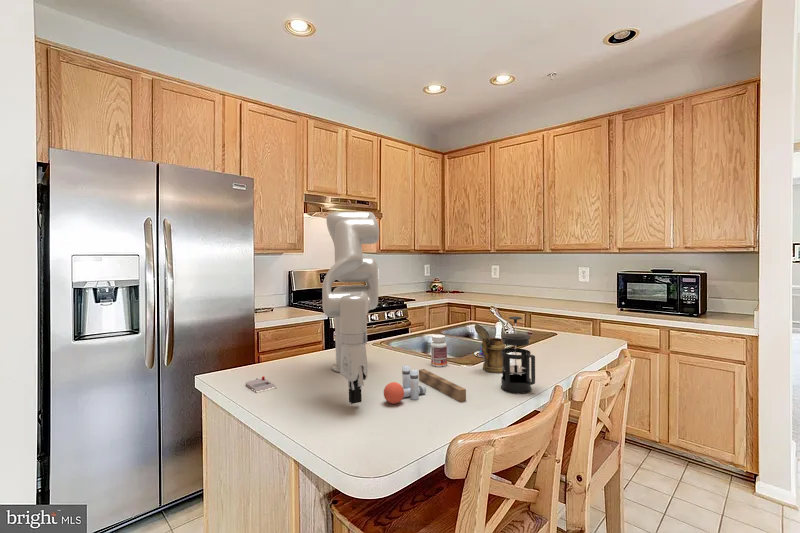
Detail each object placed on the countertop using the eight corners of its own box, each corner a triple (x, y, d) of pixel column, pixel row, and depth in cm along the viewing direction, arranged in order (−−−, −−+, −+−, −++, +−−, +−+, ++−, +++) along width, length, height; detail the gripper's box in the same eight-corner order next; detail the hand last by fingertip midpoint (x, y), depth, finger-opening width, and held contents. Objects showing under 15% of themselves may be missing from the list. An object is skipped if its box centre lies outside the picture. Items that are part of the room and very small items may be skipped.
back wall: (419, 379, 140) (418, 369, 139) (424, 379, 140) (423, 369, 140) (460, 402, 118) (460, 390, 118) (466, 401, 119) (465, 389, 119)
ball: (401, 392, 123) (382, 398, 122) (399, 375, 121) (379, 381, 120) (408, 404, 118) (388, 410, 116) (405, 387, 116) (385, 393, 114)
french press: (493, 388, 130) (492, 316, 129) (510, 381, 136) (510, 313, 135) (524, 397, 121) (524, 321, 120) (542, 390, 127) (541, 317, 126)
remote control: (258, 396, 128) (258, 387, 128) (241, 384, 140) (241, 376, 140) (278, 391, 133) (278, 382, 132) (260, 380, 145) (260, 372, 144)
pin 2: (409, 398, 123) (408, 370, 122) (416, 396, 124) (415, 368, 123) (413, 400, 120) (412, 372, 120) (420, 399, 122) (419, 370, 121)
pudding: (509, 356, 170) (509, 344, 169) (488, 361, 163) (488, 348, 163) (488, 350, 180) (488, 339, 179) (468, 355, 173) (467, 342, 173)
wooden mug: (468, 370, 149) (467, 322, 149) (495, 364, 156) (494, 318, 156) (485, 376, 142) (484, 325, 141) (512, 370, 149) (512, 321, 148)
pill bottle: (450, 365, 157) (450, 336, 156) (437, 368, 153) (437, 338, 153) (440, 361, 162) (439, 333, 161) (428, 364, 158) (427, 335, 158)
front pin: (398, 388, 124) (422, 383, 127) (397, 396, 124) (422, 391, 128) (401, 391, 121) (426, 386, 125) (401, 399, 122) (426, 394, 125)
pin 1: (401, 392, 127) (400, 366, 127) (408, 391, 128) (407, 364, 128) (405, 395, 125) (404, 368, 125) (412, 393, 126) (411, 366, 126)
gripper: (332, 335, 120) (334, 396, 121) (350, 345, 107) (352, 413, 108) (356, 332, 124) (357, 392, 124) (376, 341, 110) (378, 408, 111)
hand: (355, 402), depth 116 cm, fingers closed
